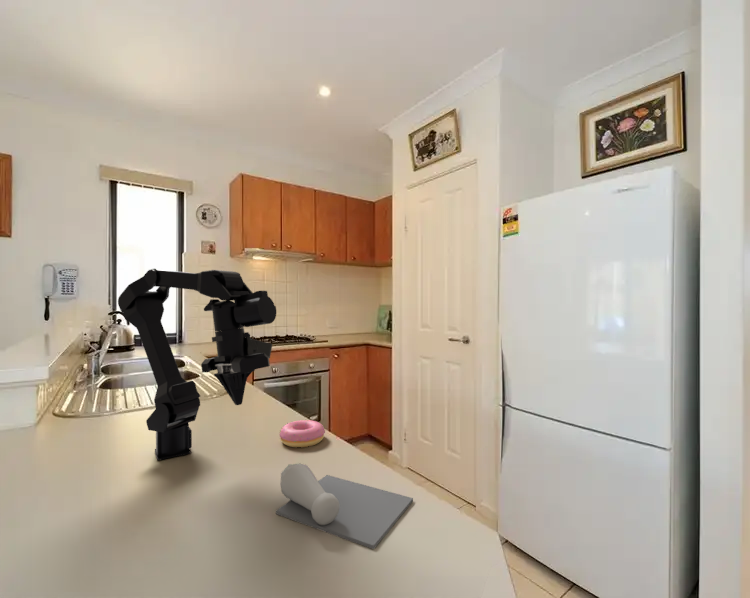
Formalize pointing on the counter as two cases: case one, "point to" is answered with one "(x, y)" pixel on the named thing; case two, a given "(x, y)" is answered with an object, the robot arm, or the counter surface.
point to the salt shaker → (308, 493)
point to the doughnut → (302, 433)
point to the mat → (354, 511)
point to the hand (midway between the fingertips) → (238, 404)
